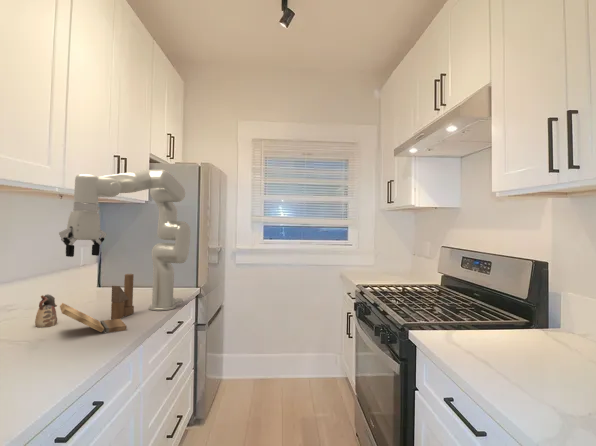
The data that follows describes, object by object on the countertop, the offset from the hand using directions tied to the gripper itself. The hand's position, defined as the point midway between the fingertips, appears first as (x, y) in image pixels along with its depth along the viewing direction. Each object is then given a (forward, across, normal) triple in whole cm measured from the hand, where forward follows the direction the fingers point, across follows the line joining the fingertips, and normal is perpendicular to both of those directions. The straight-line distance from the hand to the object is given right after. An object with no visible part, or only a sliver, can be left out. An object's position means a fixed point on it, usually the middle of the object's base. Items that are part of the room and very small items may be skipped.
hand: (83, 255), depth 125 cm
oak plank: (+24, -3, -3) cm, 24 cm away
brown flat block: (+28, -12, +2) cm, 31 cm away
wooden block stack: (+28, -26, -8) cm, 39 cm away
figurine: (+29, -3, -23) cm, 37 cm away
